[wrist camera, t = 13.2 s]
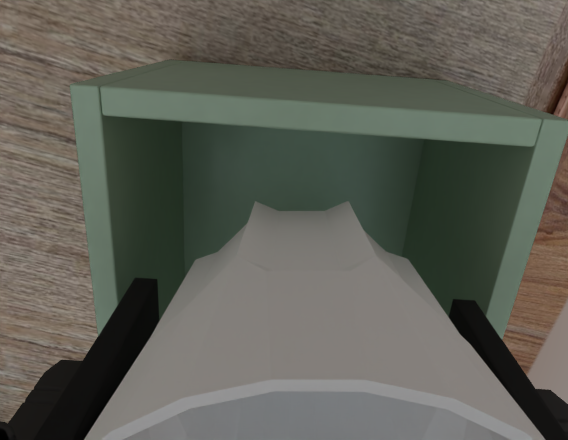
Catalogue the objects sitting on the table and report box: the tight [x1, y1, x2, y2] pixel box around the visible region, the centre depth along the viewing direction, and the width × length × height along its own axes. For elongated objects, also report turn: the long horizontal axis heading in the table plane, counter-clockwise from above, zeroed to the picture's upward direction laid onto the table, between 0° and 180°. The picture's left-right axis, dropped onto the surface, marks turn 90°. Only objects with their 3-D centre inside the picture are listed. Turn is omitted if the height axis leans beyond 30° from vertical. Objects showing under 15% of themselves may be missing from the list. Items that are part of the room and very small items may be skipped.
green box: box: [70, 60, 568, 339], centre depth 22 cm, size 17×15×12 cm
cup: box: [84, 201, 545, 440], centre depth 13 cm, size 10×10×10 cm
